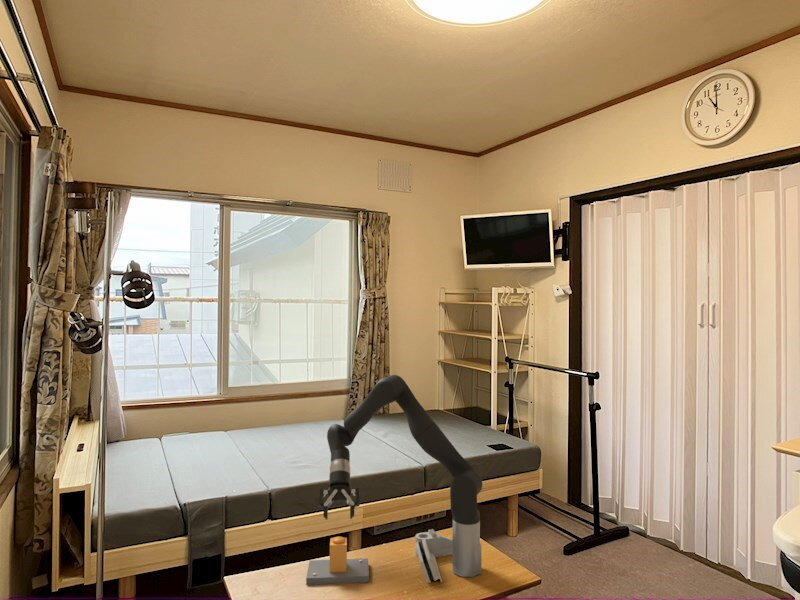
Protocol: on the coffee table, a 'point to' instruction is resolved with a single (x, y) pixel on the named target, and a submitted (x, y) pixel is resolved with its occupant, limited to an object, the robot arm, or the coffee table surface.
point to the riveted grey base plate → (322, 574)
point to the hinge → (427, 562)
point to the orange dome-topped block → (338, 554)
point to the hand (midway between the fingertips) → (338, 518)
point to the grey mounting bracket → (435, 543)
